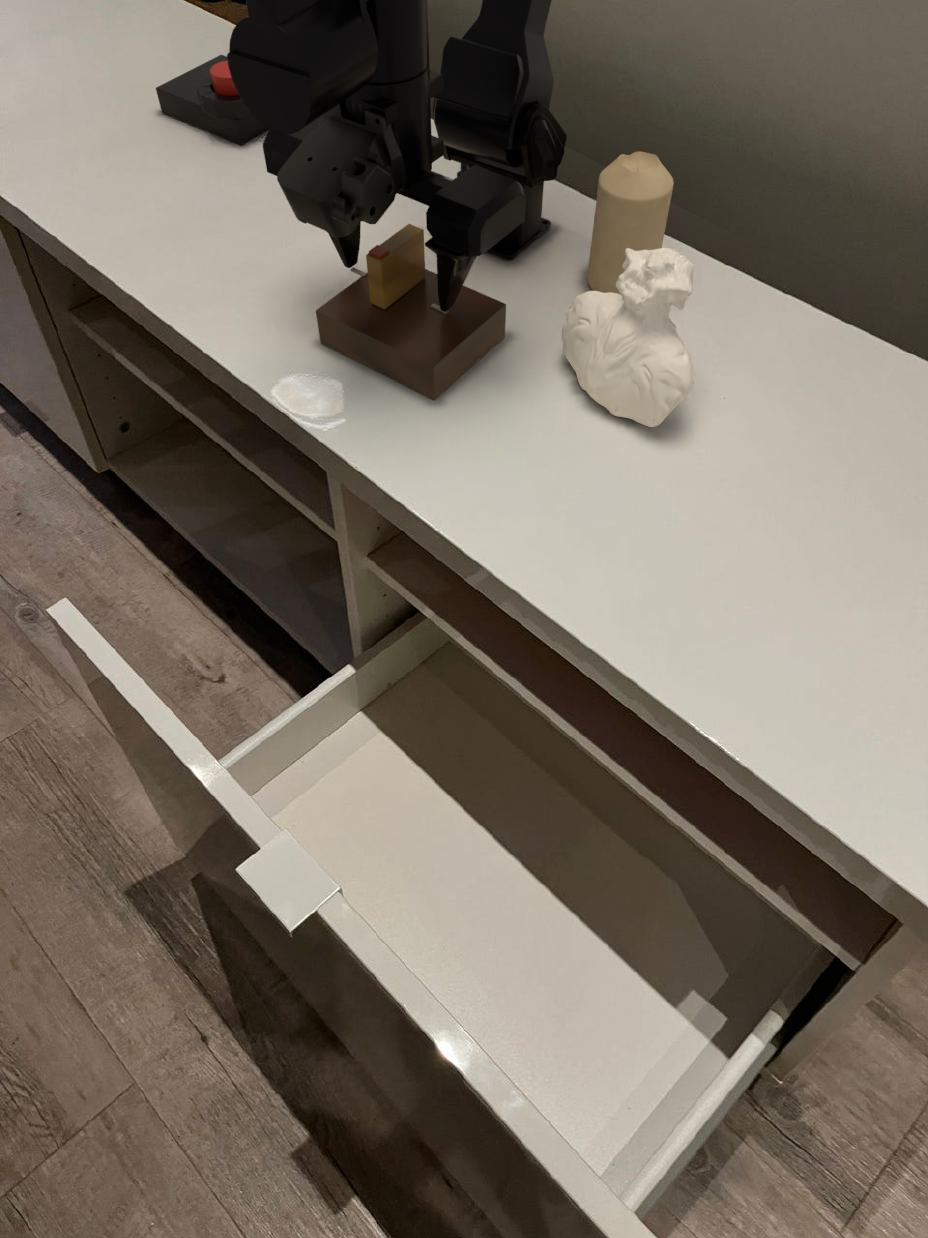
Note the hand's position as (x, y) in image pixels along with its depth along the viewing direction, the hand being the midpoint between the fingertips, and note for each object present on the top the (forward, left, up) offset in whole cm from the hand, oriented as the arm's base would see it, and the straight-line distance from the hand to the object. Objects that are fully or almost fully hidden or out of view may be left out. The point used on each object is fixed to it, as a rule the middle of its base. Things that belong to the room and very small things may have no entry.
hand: (398, 286), depth 69 cm
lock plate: (-2, +1, -3) cm, 4 cm away
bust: (-18, -4, -4) cm, 19 cm away
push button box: (+35, -17, -3) cm, 39 cm away
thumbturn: (0, 0, 0) cm, 0 cm away
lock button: (+32, -15, 0) cm, 35 cm away
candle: (-11, -15, -4) cm, 19 cm away
